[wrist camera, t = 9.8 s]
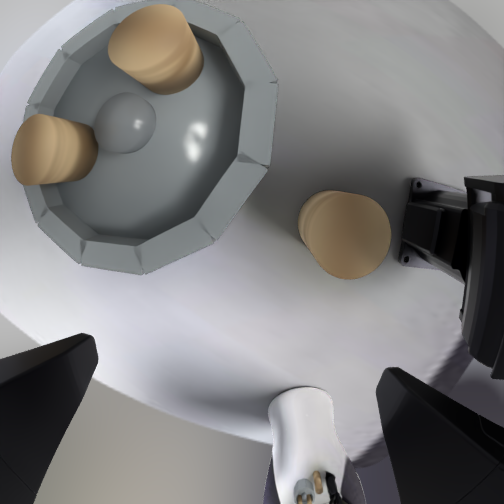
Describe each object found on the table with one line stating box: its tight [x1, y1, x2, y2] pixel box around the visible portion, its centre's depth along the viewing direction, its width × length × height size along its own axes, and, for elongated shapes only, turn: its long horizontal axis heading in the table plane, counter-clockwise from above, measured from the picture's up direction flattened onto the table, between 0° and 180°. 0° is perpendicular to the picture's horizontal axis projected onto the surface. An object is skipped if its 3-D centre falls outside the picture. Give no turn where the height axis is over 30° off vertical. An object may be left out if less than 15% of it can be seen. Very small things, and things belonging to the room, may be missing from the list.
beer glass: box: [263, 387, 366, 504], centre depth 15 cm, size 7×7×15 cm
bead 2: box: [108, 4, 204, 95], centre depth 12 cm, size 4×4×5 cm
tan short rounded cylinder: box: [11, 114, 98, 186], centre depth 14 cm, size 4×4×5 cm
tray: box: [23, 0, 278, 275], centre depth 15 cm, size 19×19×3 cm
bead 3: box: [298, 190, 391, 279], centre depth 16 cm, size 4×4×5 cm
